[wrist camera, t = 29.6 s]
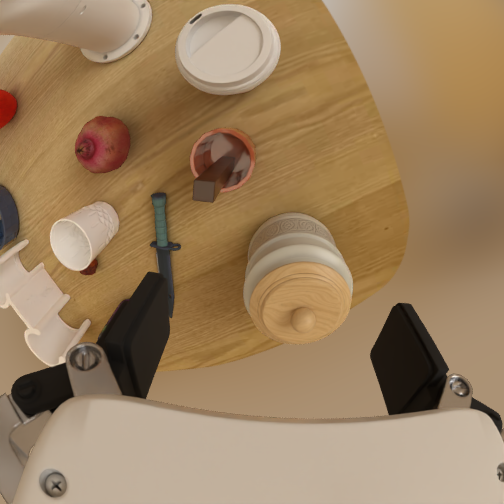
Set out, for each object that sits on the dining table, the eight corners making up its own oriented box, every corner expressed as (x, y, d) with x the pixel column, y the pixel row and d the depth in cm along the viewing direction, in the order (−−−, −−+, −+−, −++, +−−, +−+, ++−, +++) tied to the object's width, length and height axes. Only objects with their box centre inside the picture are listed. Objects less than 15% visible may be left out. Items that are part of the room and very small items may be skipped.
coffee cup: (260, 31, 29) (257, -16, 16) (285, 90, 33) (299, 71, 19) (193, 55, 31) (154, 23, 17) (218, 114, 35) (190, 110, 21)
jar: (233, 262, 44) (216, 341, 29) (279, 193, 39) (289, 246, 23) (300, 299, 47) (313, 382, 31) (349, 239, 42) (391, 310, 26)
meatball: (87, 267, 46) (76, 278, 43) (84, 250, 45) (72, 260, 41) (102, 269, 46) (92, 281, 43) (99, 252, 45) (88, 262, 41)
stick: (221, 155, 37) (193, 179, 22) (235, 157, 37) (215, 181, 22) (220, 168, 38) (192, 200, 23) (233, 170, 38) (213, 202, 23)
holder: (203, 125, 35) (192, 126, 30) (260, 131, 36) (259, 132, 30) (198, 178, 39) (187, 188, 33) (252, 184, 39) (250, 195, 33)
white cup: (96, 247, 44) (65, 275, 35) (77, 206, 41) (42, 228, 32) (130, 234, 43) (100, 264, 34) (111, 190, 40) (76, 211, 31)
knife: (143, 196, 38) (174, 198, 37) (150, 191, 40) (180, 193, 39) (160, 320, 49) (185, 325, 49) (164, 312, 51) (188, 317, 51)
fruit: (122, 177, 39) (87, 195, 30) (88, 148, 37) (48, 160, 28) (151, 134, 36) (118, 141, 27) (113, 105, 34) (75, 105, 25)
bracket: (10, 253, 46) (-23, 280, 35) (25, 233, 44) (-12, 260, 33) (73, 336, 55) (50, 371, 44) (94, 326, 53) (69, 364, 42)
